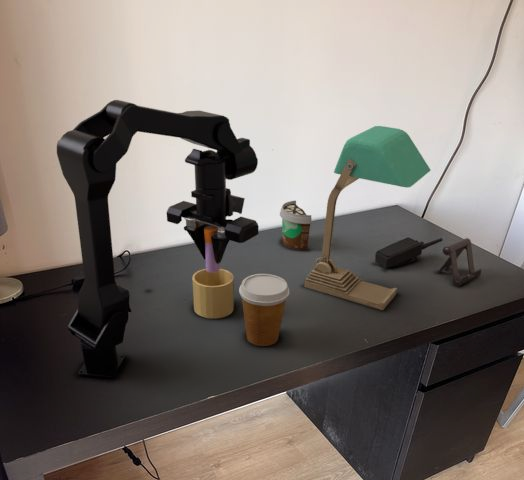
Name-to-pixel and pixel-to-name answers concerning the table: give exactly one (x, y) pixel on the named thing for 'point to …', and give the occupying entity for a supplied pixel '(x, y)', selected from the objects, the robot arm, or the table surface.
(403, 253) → the walkie-talkie
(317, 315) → the table surface
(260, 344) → the disposable coffee cup
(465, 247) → the tablet stand
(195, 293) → the pen pot
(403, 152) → the banker's lamp
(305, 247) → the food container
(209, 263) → the glue stick
